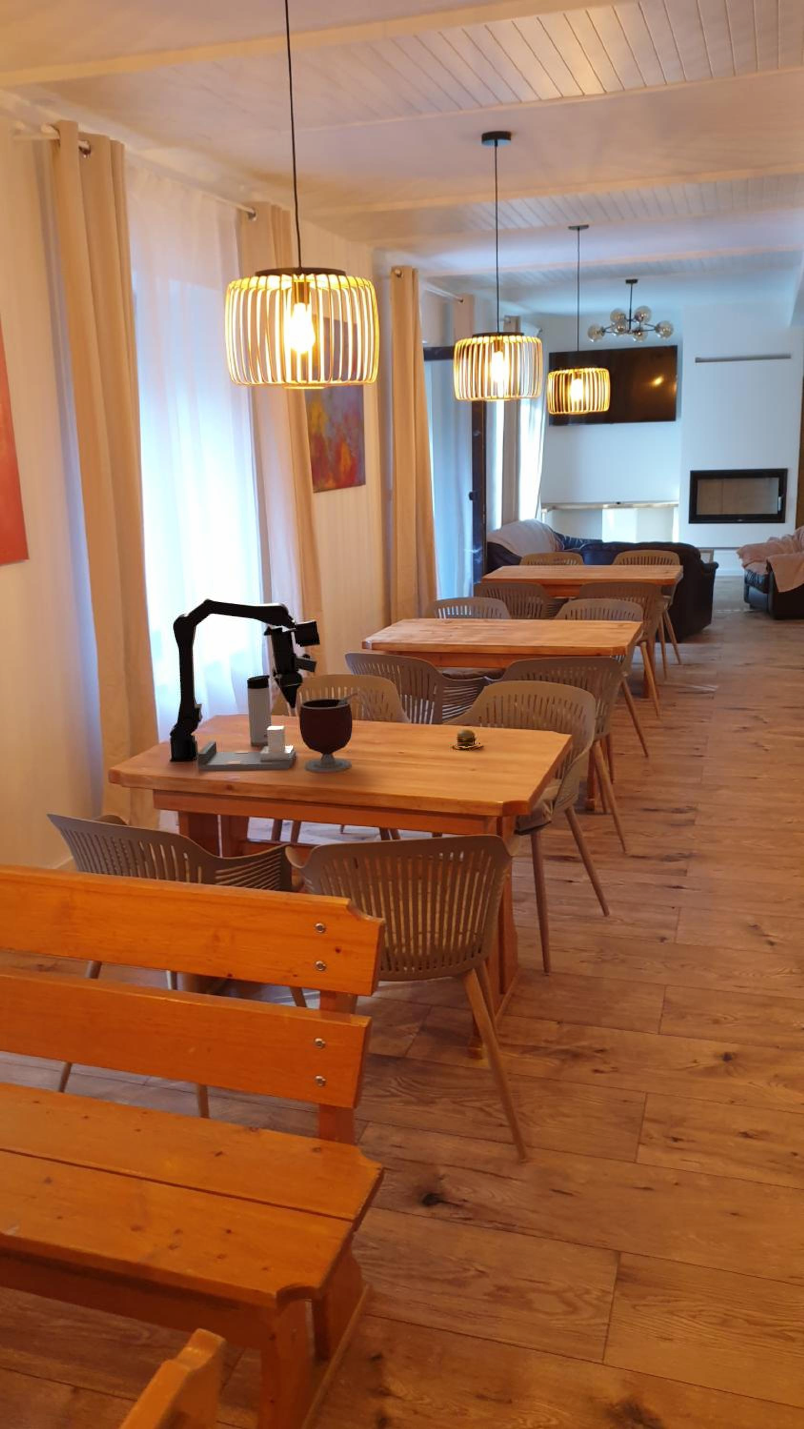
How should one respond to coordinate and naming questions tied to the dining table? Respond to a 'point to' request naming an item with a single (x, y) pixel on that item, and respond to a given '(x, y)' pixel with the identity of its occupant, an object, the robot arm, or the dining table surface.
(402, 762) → the dining table surface
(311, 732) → the mate gourd
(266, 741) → the travel mug
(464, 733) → the hamburger
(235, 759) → the slide board
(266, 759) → the slider
